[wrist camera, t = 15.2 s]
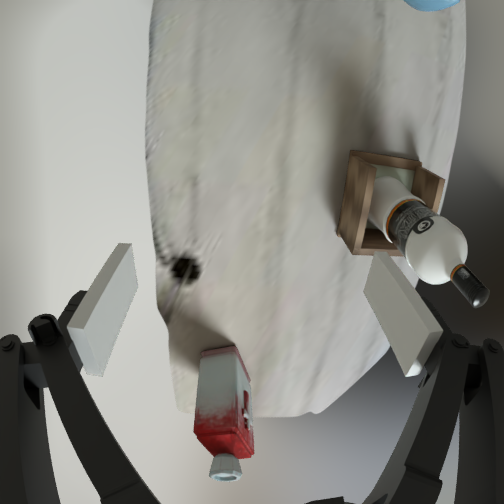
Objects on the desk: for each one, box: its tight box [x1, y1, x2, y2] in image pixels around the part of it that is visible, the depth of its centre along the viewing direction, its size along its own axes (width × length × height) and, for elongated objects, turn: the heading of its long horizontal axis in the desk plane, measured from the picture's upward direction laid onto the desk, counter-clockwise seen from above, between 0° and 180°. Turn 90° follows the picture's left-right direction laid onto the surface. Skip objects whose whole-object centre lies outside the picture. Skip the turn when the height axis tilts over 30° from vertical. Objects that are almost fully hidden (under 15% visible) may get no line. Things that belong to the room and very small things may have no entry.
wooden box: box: [337, 150, 445, 256], centre depth 49 cm, size 16×14×9 cm
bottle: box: [194, 346, 254, 482], centre depth 60 cm, size 14×10×30 cm
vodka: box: [367, 176, 489, 308], centre depth 39 cm, size 9×9×30 cm
